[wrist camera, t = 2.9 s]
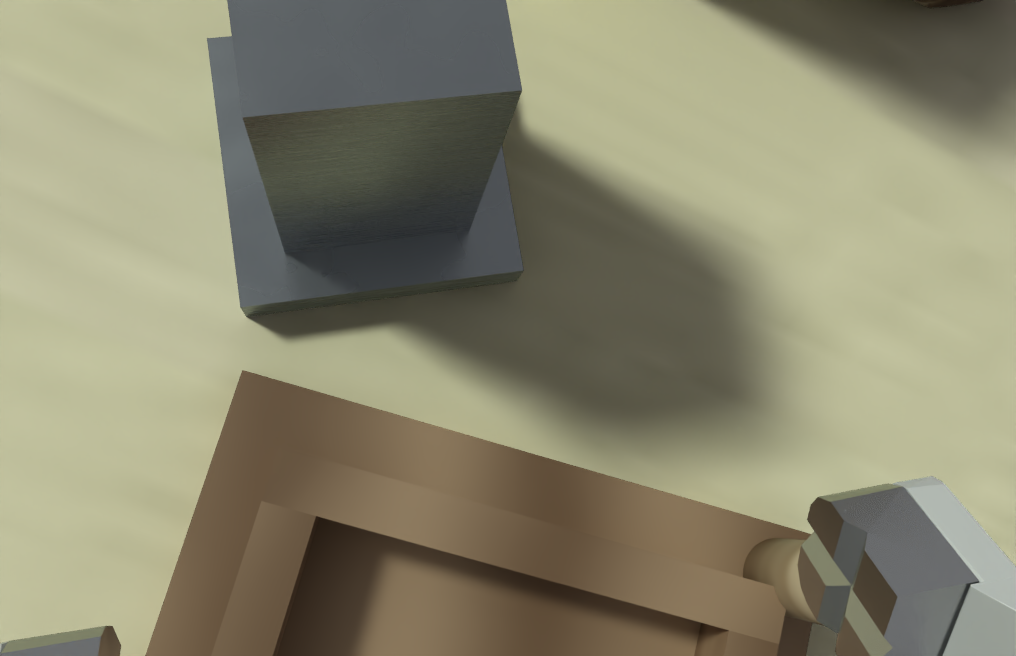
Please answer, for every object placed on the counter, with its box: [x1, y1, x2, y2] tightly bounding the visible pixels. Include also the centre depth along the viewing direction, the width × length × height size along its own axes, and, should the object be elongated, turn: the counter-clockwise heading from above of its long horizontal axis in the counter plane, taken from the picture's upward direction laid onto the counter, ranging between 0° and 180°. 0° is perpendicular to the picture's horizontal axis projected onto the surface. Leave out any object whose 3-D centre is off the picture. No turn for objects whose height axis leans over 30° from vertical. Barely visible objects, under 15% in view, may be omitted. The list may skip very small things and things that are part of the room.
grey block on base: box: [207, 0, 524, 317], centre depth 21 cm, size 7×7×10 cm
